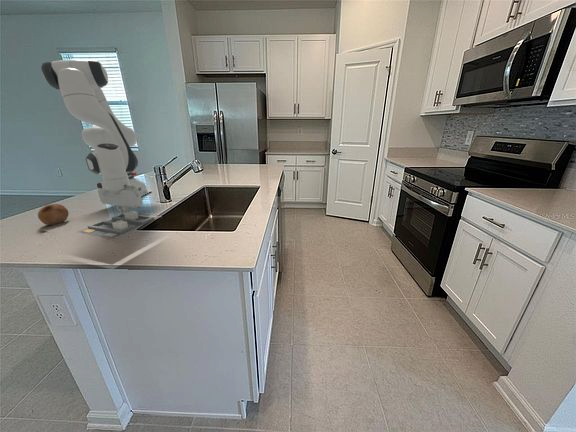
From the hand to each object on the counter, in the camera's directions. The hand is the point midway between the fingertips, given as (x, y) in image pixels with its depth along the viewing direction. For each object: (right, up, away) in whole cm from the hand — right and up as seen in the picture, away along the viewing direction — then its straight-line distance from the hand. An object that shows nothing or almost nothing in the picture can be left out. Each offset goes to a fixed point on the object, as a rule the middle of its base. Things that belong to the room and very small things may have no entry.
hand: (124, 214), depth 106 cm
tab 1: (+6, -6, -11) cm, 13 cm away
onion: (-27, -4, -3) cm, 28 cm away
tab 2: (+3, -2, 0) cm, 4 cm away
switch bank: (+3, -5, -4) cm, 7 cm away
